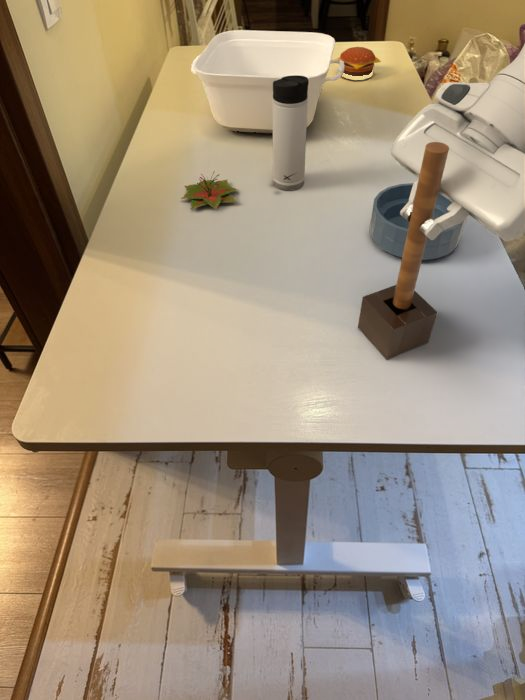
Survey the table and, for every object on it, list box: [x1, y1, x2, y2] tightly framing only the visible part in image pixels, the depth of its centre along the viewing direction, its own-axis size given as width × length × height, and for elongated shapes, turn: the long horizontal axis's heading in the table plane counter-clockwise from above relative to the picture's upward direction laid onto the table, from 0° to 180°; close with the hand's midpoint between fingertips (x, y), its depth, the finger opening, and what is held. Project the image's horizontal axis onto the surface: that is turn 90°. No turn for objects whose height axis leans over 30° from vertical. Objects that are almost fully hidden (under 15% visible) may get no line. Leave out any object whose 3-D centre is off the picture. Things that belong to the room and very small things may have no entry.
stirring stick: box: [393, 142, 449, 309], centre depth 62 cm, size 2×2×22 cm
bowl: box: [368, 182, 467, 261], centre depth 89 cm, size 15×15×6 cm
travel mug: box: [272, 75, 309, 191], centre depth 97 cm, size 6×7×20 cm
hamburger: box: [334, 46, 382, 76], centre depth 139 cm, size 9×10×7 cm
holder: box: [357, 284, 438, 361], centre depth 73 cm, size 7×7×6 cm
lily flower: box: [180, 170, 239, 211], centre depth 99 cm, size 12×12×5 cm
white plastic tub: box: [190, 29, 344, 135], centre depth 119 cm, size 34×29×15 cm
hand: (415, 226), depth 61 cm, fingers closed on stirring stick, 2 cm apart
